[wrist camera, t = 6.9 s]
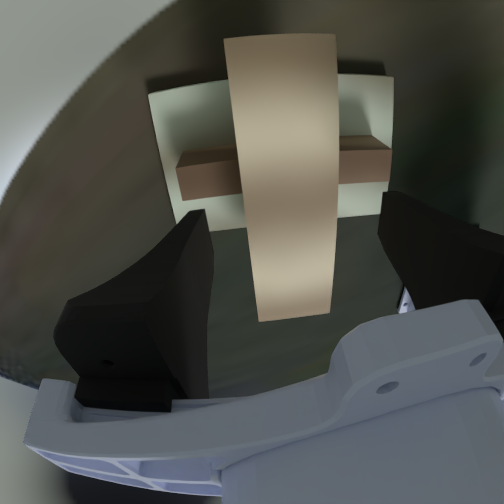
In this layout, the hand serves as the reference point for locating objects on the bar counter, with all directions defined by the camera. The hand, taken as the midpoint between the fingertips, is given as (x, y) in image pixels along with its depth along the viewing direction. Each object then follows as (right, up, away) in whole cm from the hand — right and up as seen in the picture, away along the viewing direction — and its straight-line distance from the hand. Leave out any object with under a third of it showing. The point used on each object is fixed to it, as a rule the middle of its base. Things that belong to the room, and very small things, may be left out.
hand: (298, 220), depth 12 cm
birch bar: (0, +3, +4) cm, 5 cm away
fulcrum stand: (0, +5, +7) cm, 9 cm away
